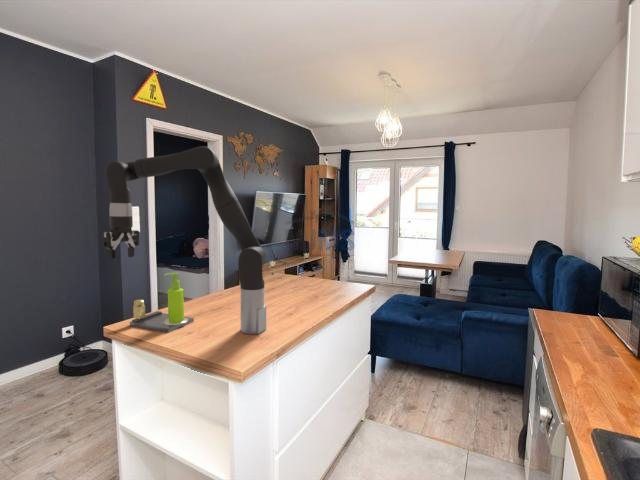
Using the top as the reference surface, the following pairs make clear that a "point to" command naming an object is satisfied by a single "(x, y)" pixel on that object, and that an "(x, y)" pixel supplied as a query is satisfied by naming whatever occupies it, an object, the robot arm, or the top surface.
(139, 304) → the press lever
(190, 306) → the top surface
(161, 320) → the plate
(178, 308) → the soap dispenser
